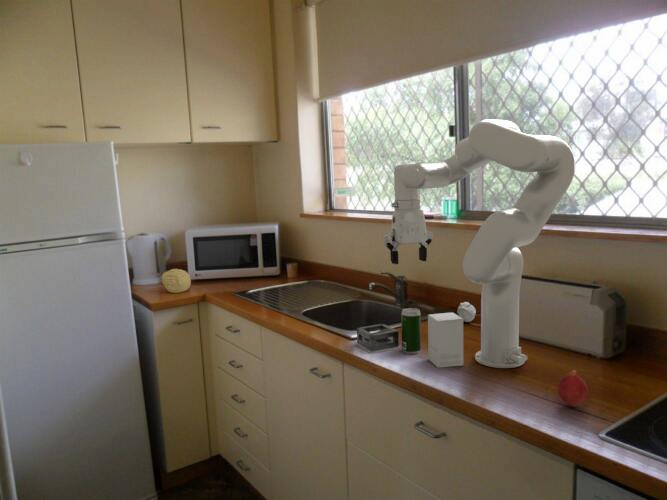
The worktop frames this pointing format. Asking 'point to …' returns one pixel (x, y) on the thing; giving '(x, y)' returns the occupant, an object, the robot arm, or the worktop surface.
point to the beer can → (411, 330)
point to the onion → (572, 389)
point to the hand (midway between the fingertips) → (409, 262)
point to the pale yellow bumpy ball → (176, 280)
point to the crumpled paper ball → (466, 311)
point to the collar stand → (377, 338)
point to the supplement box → (445, 339)
